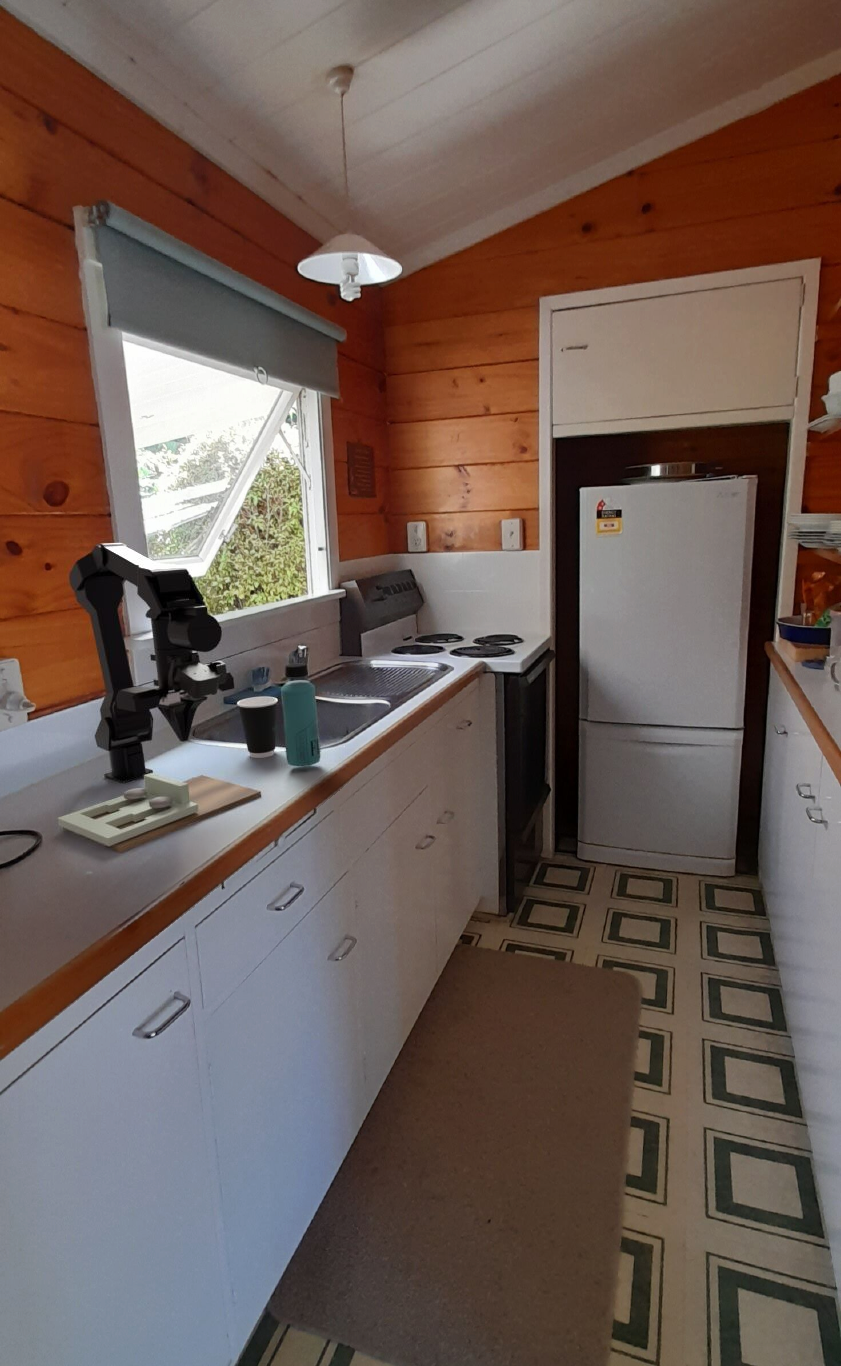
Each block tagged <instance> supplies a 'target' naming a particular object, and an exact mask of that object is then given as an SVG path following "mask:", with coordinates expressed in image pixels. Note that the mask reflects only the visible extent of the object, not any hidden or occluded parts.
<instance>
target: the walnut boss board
mask: <svg viewBox="0 0 841 1366" xmlns="http://www.w3.org/2000/svg"><path fill="white" fill-rule="evenodd" d="M182 782H184V783H187V784H188V788H189V797H190V802H193V803H196V804H198V810H199V811H198V812H195V813H193V814H190V815H188V816H185V817H183V818H180V819H178V820H175V821H172V822H170V823H167V824H165V825H162V826H160V827H157V828H155V829H152V830H149V831H147V832H144V833H142V834H139V835H137V836H134V837H132V838H129V839H126V840H124V841H121V842H119V843H116V844H114V845H111V846H107V845H105V844H102V843H100V842H97V841H95V840H93V839H90V838H88V837H85V836H83V835H81V834H78V833H76V832H74V831H71V830H69V829H66V828H64V827H62V829H64V830H66V831H69V832H71V833H73V834H76V835H78V836H80V837H82V838H85V839H88V840H90V841H92V842H94V843H97V844H99V845H101V846H104V847H107V848H108V849H111V850H113V851H116V852H118V853H123V852H125V851H128V850H130V849H133V848H134V847H138V846H140V845H143V844H145V843H147V842H150V841H154V840H155V839H157V838H160V837H163V836H165V835H167V834H169V833H172V832H174V831H177V830H179V829H182V828H185V827H187V826H189V825H192V824H195V823H198V822H199V821H203V820H204V819H207V818H210V817H212V816H215V815H217V814H219V813H222V812H225V811H228V810H230V809H232V808H235V807H237V806H239V805H243V804H245V803H247V802H250V801H252V800H254V799H257V798H259V797H261V796H262V792H261V791H260V790H257V789H254V788H250V787H247V786H242V785H240V784H239V785H238V784H235V783H231V782H229V781H224V780H220V779H218V778H214V777H209V776H206V775H203V774H201V775H198V776H196V777H192V778H189V779H187V780H184V781H183V780H182ZM145 795H146V789H144V788H141V787H140V788H139V787H138V788H131V789H128V790H125V791H124V792H123V796H124V798H125V799H130V801H131V804H134V803H137V802H140V801H141V797H144V796H145ZM171 804H172V798H171V797H168V796H163V797H157V798H154V799H151V800H150V801H149V806H150V807H151V808H156V813H160V812H162V811H165V810H167V806H169V805H171ZM118 811H119V810H117V811H114V812H111V813H110V812H105V813H102V814H99V815H96V816H93V817H90V818H92V819H98V818H101V817H104V816H106V815H109V814H112V813H115V812H118ZM142 821H145V819H142V820H140V821H137V822H134V821H130V822H128V823H125V824H122V825H119V826H117V827H116V828H118V829H124V828H126V827H129V826H132V825H134V824H137V823H140V822H142Z"/></svg>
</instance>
